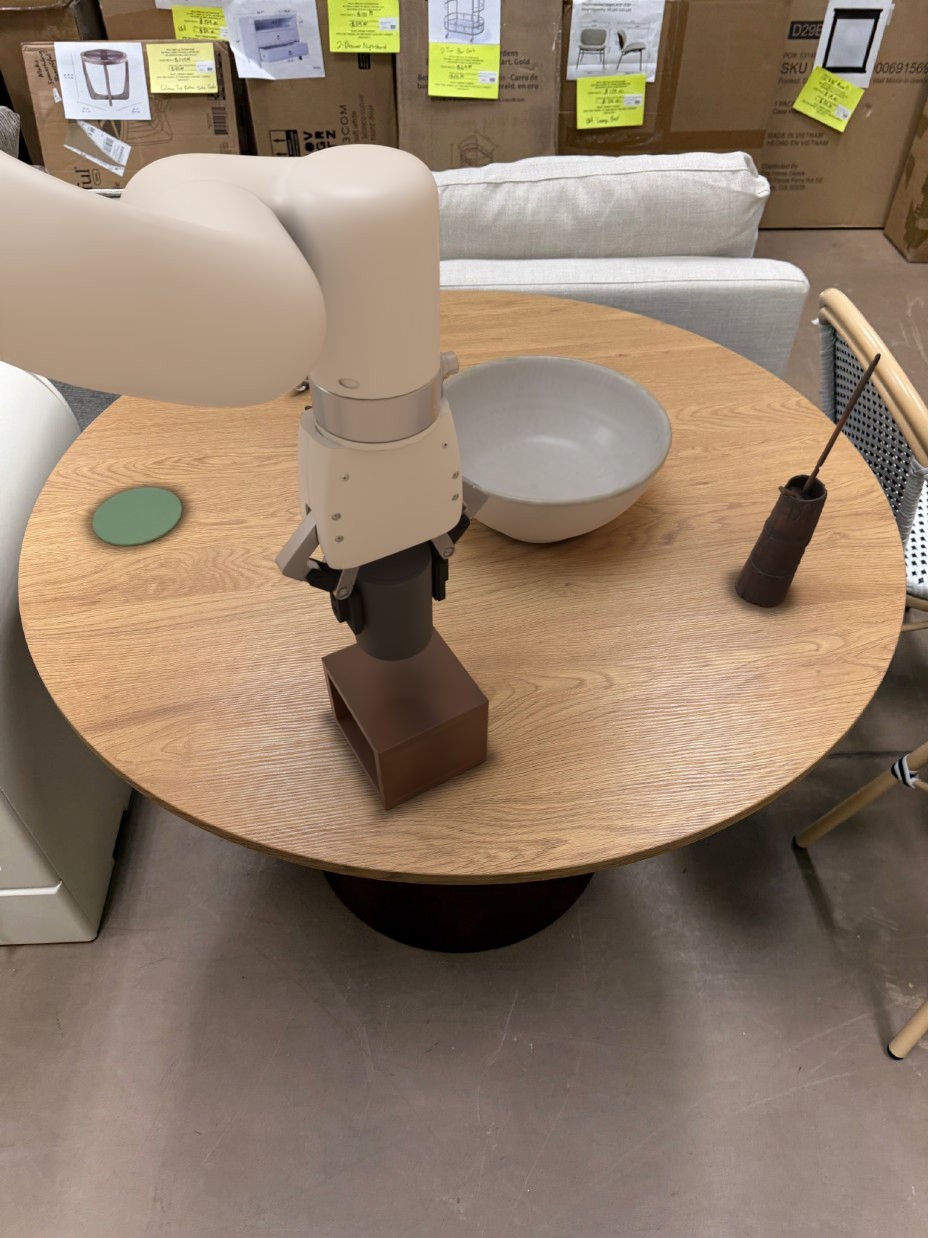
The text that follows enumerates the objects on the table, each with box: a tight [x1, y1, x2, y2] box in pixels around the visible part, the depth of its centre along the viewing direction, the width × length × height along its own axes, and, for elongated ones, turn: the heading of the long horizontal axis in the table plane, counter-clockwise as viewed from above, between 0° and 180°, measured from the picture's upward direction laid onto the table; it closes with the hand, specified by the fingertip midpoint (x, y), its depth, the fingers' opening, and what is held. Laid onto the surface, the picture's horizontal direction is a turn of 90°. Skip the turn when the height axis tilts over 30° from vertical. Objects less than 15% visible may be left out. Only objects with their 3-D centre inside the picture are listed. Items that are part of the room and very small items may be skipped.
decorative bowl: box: [443, 354, 673, 544], centre depth 91 cm, size 27×27×12 cm
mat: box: [91, 486, 183, 547], centre depth 94 cm, size 10×10×1 cm
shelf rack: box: [320, 625, 490, 811], centre depth 71 cm, size 10×11×9 cm
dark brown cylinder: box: [354, 541, 434, 661], centre depth 60 cm, size 6×6×8 cm
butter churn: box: [734, 352, 882, 608], centre depth 76 cm, size 9×10×28 cm
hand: (391, 603), depth 60 cm, fingers closed on dark brown cylinder, 6 cm apart
